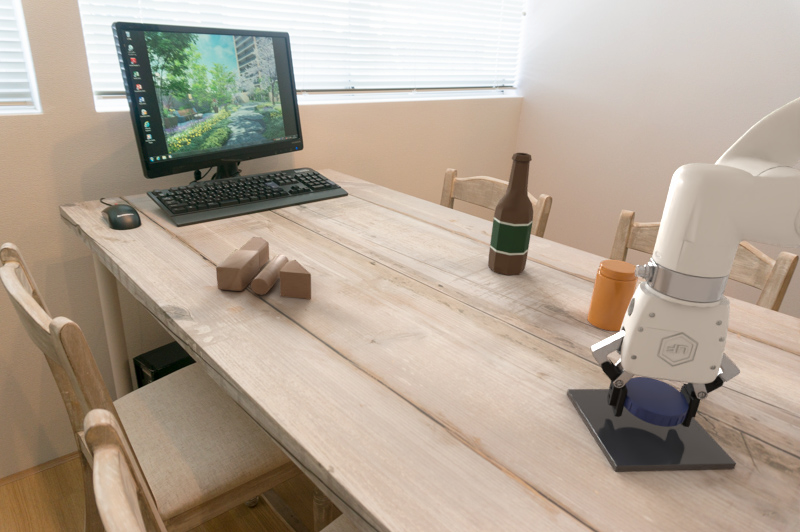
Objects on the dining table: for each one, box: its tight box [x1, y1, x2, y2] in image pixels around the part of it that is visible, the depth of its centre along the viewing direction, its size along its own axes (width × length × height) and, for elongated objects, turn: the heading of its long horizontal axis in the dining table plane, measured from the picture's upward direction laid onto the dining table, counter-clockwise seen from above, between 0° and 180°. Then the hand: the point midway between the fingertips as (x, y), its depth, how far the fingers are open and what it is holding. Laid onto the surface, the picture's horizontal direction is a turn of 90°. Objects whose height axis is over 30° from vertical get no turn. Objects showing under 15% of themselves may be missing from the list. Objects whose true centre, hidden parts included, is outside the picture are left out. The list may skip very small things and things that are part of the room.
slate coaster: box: [566, 388, 737, 472], centre depth 65 cm, size 14×14×1 cm
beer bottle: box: [487, 152, 534, 276], centre depth 106 cm, size 8×8×24 cm
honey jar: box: [586, 259, 639, 332], centre depth 89 cm, size 6×6×10 cm
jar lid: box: [624, 376, 689, 427], centre depth 63 cm, size 7×7×2 cm
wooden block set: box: [215, 236, 312, 300], centre depth 99 cm, size 17×6×18 cm
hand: (648, 413), depth 64 cm, fingers closed on jar lid, 7 cm apart
